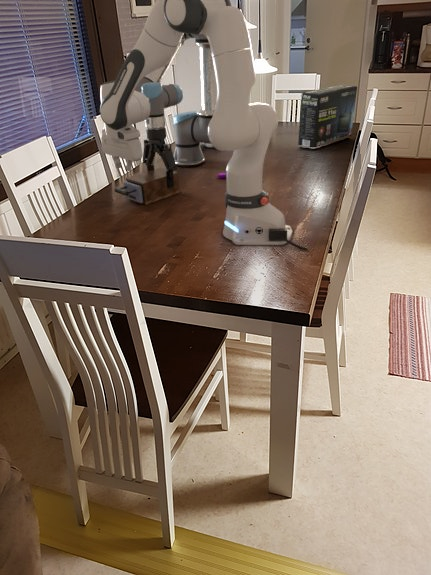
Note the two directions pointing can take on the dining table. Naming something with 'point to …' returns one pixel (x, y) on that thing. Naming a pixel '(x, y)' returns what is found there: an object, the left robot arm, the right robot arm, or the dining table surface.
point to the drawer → (132, 191)
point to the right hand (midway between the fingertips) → (123, 169)
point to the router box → (326, 115)
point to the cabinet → (155, 184)
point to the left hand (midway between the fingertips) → (161, 184)
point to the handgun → (222, 175)
